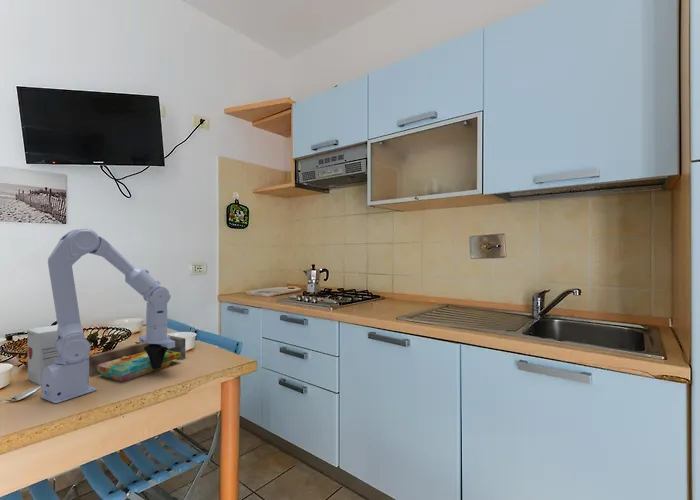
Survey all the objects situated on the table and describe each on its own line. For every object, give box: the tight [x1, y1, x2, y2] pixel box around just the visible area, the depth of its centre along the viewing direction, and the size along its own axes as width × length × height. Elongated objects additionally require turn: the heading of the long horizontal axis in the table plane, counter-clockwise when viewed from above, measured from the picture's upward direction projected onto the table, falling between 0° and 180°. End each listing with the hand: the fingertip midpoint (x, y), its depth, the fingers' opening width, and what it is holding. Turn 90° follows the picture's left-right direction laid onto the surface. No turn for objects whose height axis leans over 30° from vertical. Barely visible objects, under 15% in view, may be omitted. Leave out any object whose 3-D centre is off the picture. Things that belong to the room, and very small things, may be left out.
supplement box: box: [27, 324, 60, 386], centre depth 105 cm, size 9×9×15 cm
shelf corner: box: [89, 334, 186, 378], centre depth 115 cm, size 25×12×7 cm, turn 153°
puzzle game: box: [97, 350, 181, 383], centre depth 112 cm, size 12×5×20 cm
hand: (156, 368), depth 109 cm, fingers closed
